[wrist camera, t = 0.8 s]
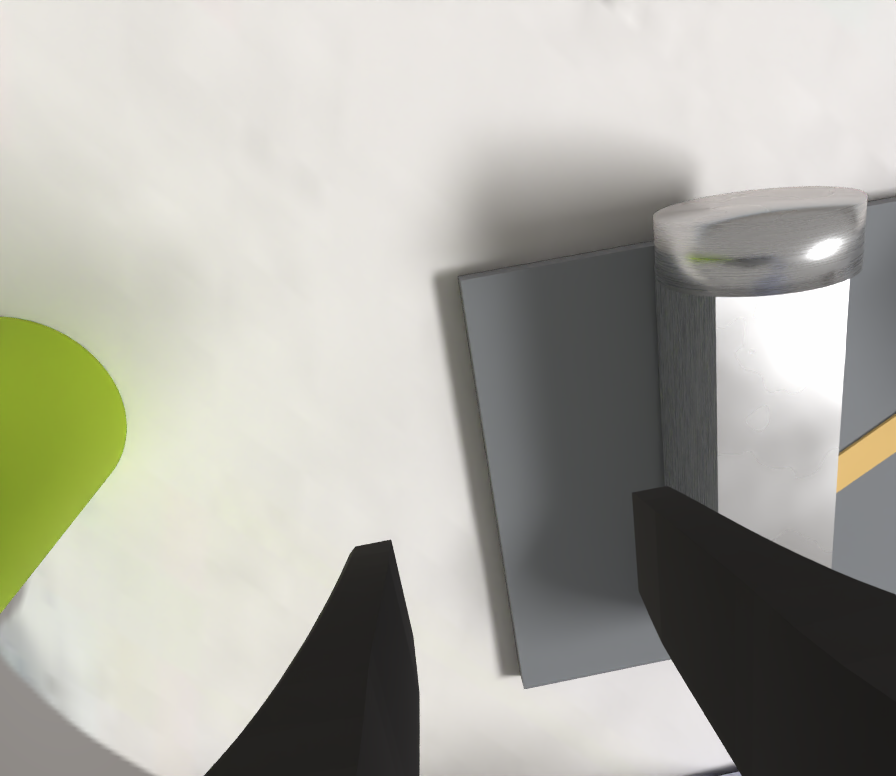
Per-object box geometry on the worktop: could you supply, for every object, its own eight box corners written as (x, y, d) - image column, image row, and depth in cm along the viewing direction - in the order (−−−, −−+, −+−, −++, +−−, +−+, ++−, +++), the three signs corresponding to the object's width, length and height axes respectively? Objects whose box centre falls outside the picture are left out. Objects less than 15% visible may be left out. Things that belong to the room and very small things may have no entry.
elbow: (778, 601, 23) (869, 706, 19) (651, 627, 23) (713, 739, 19) (790, 181, 18) (919, 196, 14) (626, 211, 18) (704, 234, 14)
